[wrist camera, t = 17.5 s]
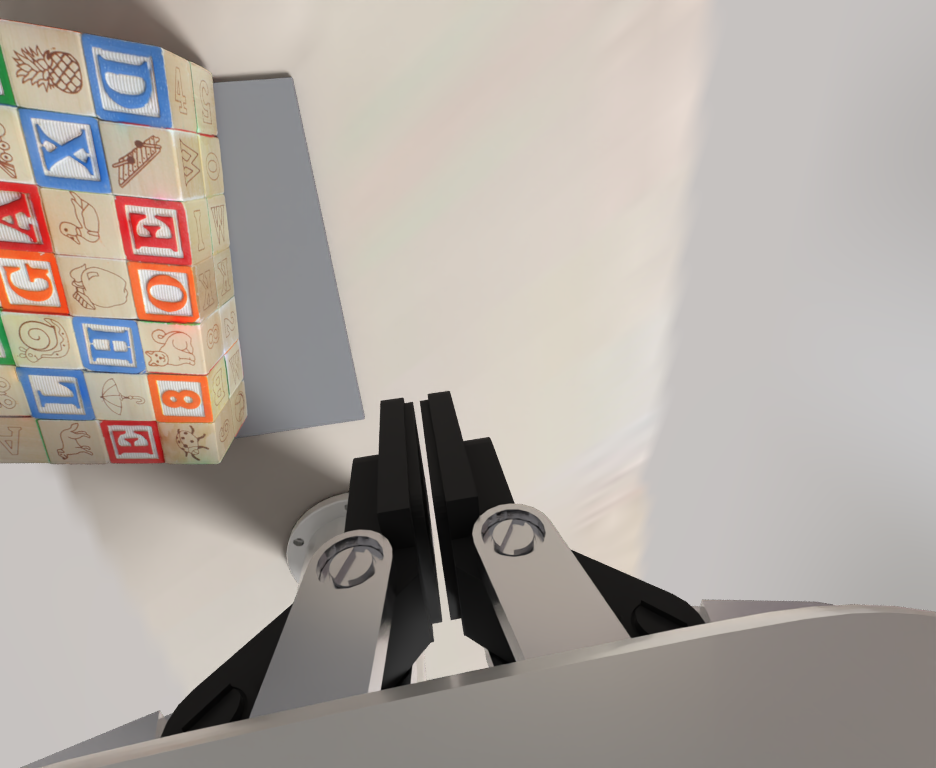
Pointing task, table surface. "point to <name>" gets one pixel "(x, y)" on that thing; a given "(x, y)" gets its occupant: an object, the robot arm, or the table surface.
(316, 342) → the mat
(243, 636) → the table surface
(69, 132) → the stack of blocks
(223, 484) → the table surface
